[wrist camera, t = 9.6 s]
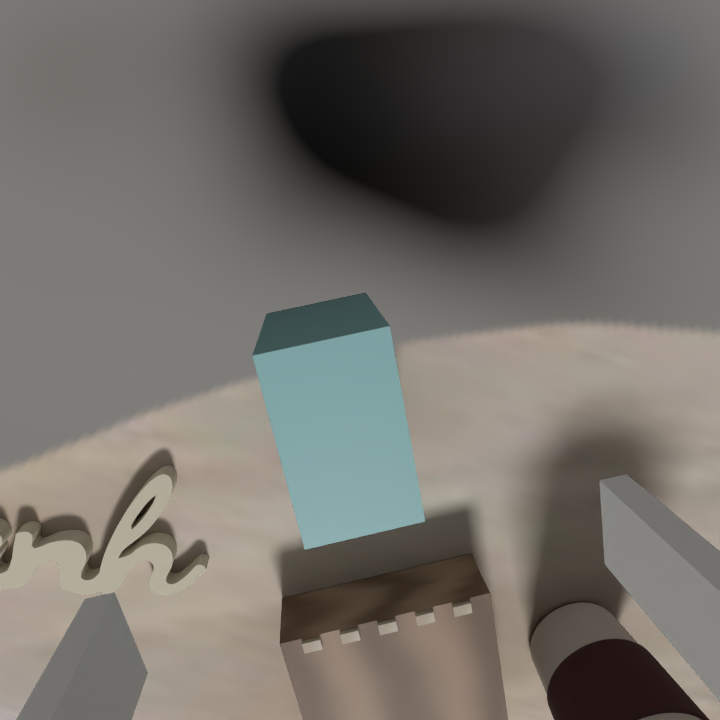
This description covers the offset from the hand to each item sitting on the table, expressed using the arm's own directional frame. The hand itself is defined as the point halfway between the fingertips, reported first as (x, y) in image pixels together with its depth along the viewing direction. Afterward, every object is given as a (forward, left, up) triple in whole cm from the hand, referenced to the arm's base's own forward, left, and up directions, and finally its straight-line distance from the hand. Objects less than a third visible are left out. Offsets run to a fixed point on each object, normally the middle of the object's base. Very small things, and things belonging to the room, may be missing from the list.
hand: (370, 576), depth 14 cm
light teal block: (0, +1, -19) cm, 19 cm away
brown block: (0, +22, -19) cm, 30 cm away
